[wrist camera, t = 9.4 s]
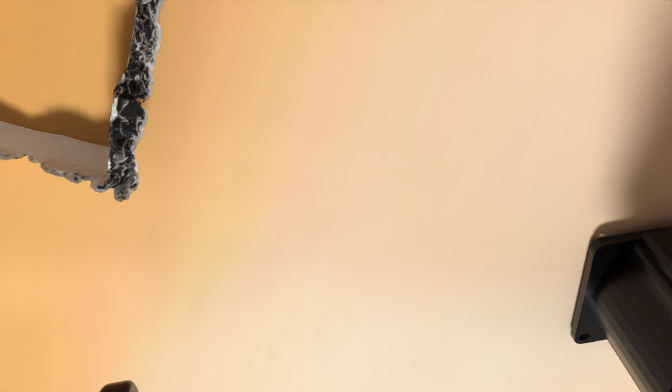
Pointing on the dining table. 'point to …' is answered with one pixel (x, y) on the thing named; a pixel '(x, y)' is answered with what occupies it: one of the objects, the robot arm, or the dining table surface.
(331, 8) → the dining table surface
